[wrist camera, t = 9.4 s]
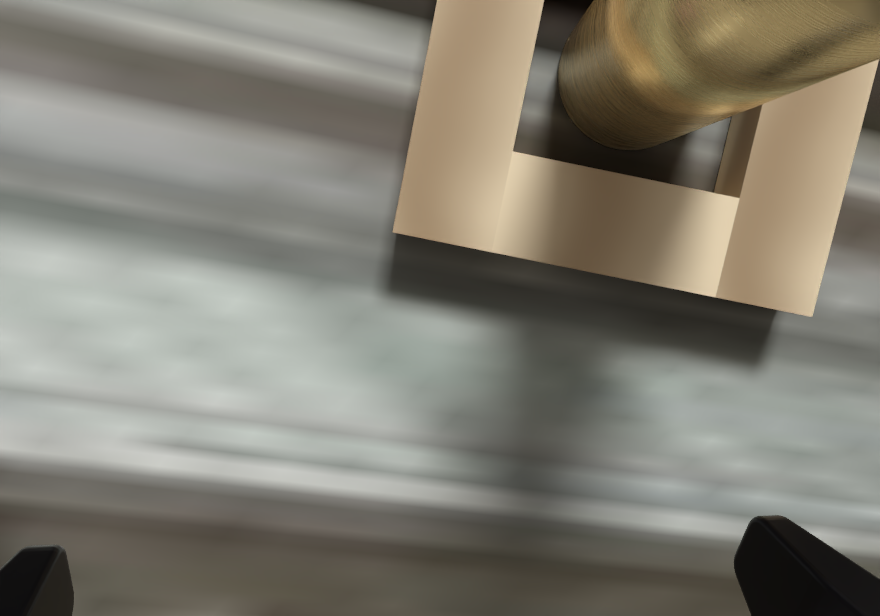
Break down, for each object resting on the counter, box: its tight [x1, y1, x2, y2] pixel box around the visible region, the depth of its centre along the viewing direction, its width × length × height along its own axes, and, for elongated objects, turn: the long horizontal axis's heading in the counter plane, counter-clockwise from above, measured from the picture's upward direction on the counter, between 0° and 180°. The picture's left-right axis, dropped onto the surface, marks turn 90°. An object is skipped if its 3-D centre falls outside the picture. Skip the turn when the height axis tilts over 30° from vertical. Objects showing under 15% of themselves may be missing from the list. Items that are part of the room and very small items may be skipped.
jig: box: [393, 0, 879, 317], centre depth 20 cm, size 12×12×2 cm
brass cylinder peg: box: [558, 0, 880, 150], centre depth 15 cm, size 4×4×13 cm
